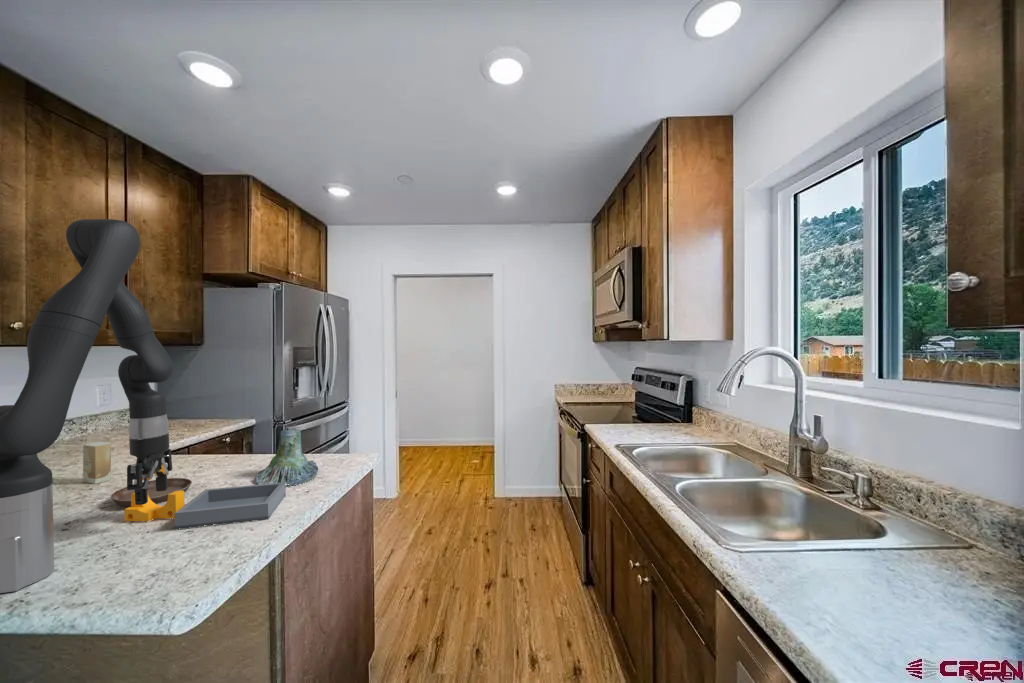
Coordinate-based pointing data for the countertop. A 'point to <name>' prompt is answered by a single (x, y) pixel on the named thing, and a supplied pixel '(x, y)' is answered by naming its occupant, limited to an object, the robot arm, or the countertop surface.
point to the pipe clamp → (154, 508)
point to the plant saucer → (152, 491)
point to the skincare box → (96, 462)
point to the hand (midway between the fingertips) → (152, 497)
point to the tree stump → (288, 463)
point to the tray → (231, 505)
